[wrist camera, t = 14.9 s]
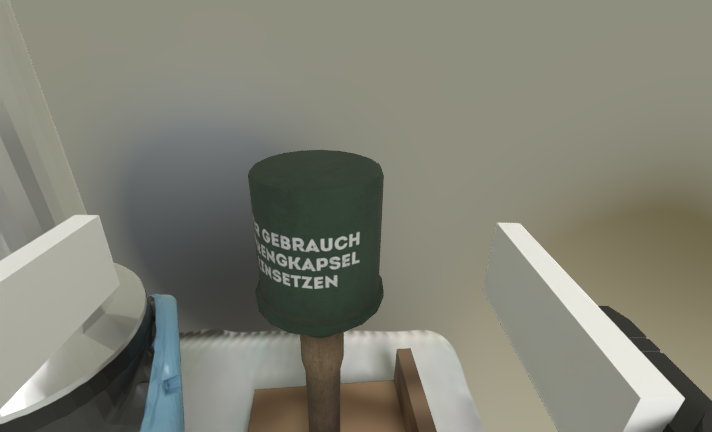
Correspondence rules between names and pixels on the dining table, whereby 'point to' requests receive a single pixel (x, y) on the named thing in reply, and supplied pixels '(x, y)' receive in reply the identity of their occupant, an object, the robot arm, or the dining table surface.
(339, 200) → the stick grenade
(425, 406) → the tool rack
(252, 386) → the dining table surface
